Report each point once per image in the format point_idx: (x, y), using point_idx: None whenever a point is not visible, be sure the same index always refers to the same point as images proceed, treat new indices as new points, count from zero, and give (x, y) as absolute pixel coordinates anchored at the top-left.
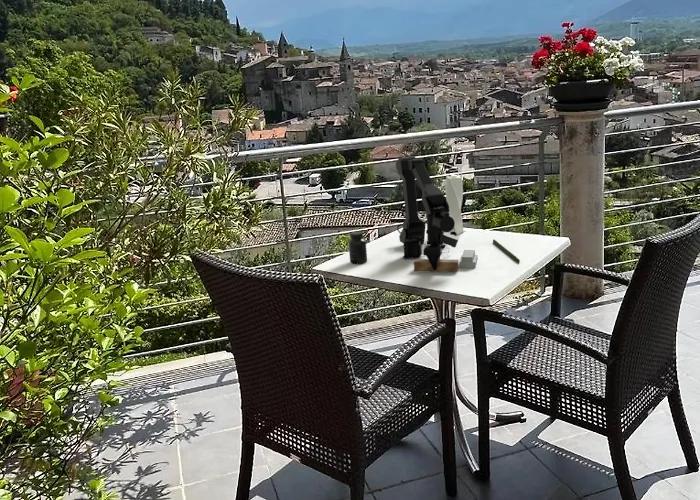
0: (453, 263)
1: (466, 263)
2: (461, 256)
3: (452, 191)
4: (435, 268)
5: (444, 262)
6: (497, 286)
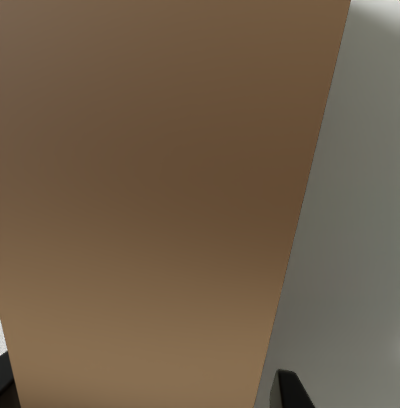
0: (315, 122)
1: None
2: None
3: None
4: (302, 404)
5: (261, 370)
6: None
